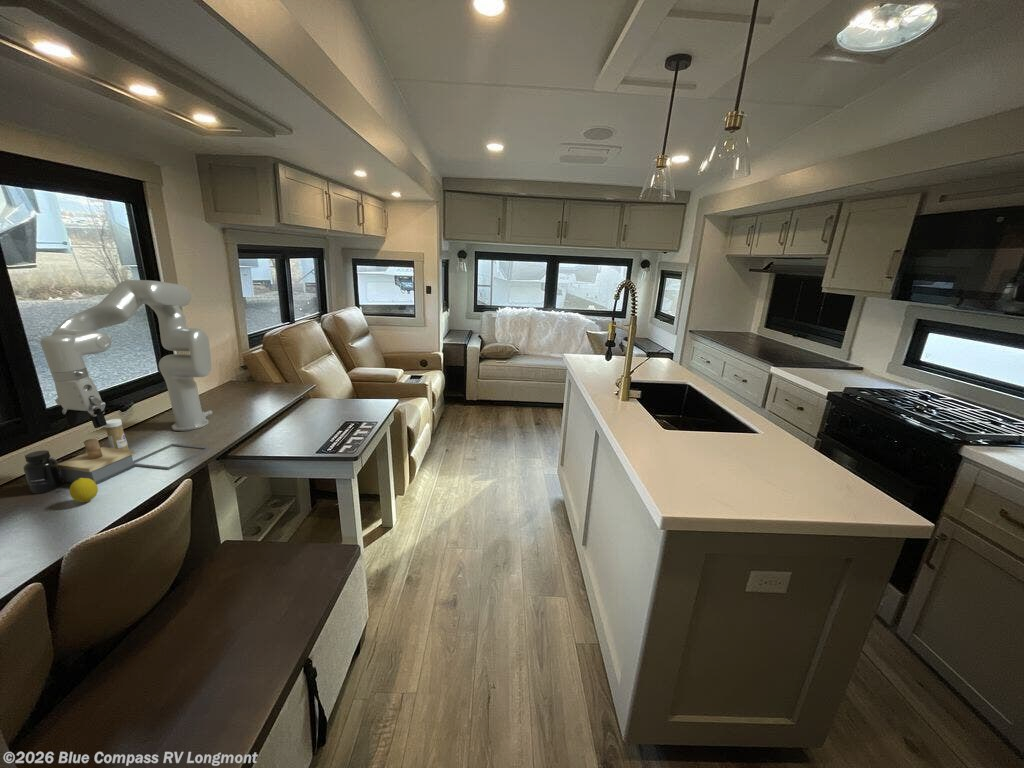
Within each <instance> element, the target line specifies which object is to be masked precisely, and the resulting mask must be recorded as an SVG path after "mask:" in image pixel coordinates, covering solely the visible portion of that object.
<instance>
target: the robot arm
mask: <svg viewBox="0 0 1024 768" xmlns="http://www.w3.org/2000/svg"><path fill="white" fill-rule="evenodd" d="M191 301H192V294H191V291H190V290H189V289H188V288H187V287H186V286H184V285H182V284H179V283H173V282H172V283H171V282H164V281H160V280H151V279H150V280H149V279H148V280H147V279H127V280H123V281H121V282H119V283H118V284H117V285H116V286H115V288H113V289H112V290H111V291H110V292H109V293H108V294H107V295H106V296H105V297H104V298H103V299H102V300H101V301H100V302H99V303H98V304H96V305H94V306H92V307H89V308H87V309H84V310H82V311H80V312H77V313H75V314H73V315H72V316H71V315H70V316H69V317H67V318H66V319H65V320H64V321H62V322H61V323H60V325H58V326H57V327H56V328H55V329H54V330H53V332H52V333H51V334H50V335H47V336H44V337H42V338H41V339H40V341H39V342H40V346H41V349H42V353H43V354H44V356H45V360H46V363H47V365H48V369H49V371H50V374H51V376H52V379H53V382H54V386H55V387H54V388H55V392H56V396H57V397H56V399H54V401H55V402H54V403H56V405H58V408H59V409H60V410H61V412H62V414H63V415H64V417H65V419H66V423H67V425H68V427H69V426H70V427H71V426H74V425H77V424H80V423H82V419H81V417H80V414H79V411H81V412H83V411H84V412H87V413H88V414H90V415H91V417H90V419H91V422H92V425H93V428H94V429H99V428H101V427H104V426H105V425H106V424H107V423H106V421H107V419H106V418H105V415H104V414H106V413H105V411H106V402H104V401H103V400H102V398H101V395H100V393H99V390H98V388H97V386H96V385H95V382H94V381H93V380H92V378H91V377H90V375H89V371H88V369H87V367H86V366H87V365H86V363H85V360H84V356H87V355H94V354H95V355H96V354H97V355H98V354H100V353H101V354H102V353H104V352H106V351H107V350H108V349H109V348H111V345H112V339H111V337H110V336H109V335H108V334H107V333H105V332H103V331H101V330H100V329H104V328H107V327H112V326H117V325H120V324H123V323H125V322H127V321H129V319H131V318H132V316H133V315H134V314H135V313H136V311H137V310H138V309H139V308H140V307H142V305H147V306H149V307H150V308H151V310H152V311H154V313H155V314H156V317H157V319H158V326H159V327H158V328H159V333H160V335H159V336H160V342H161V346H162V347H163V349H165V350H167V351H172V352H189V354H186V353H184V354H182V353H181V354H179V353H177V354H175V353H174V354H167V355H165V356H163V357H162V358H160V359H159V362H158V368H159V371H160V374H161V375H162V377H163V379H164V381H165V385H166V387H167V391H168V396H169V401H170V404H171V409H172V413H173V414H172V415H173V417H174V422H175V423H173V424H172V425H171V429H172V430H173V431H177V432H186V431H193V430H197V429H200V428H203V427H205V426H208V424H209V423H210V422H209V419H208V418H207V416H211V415H213V411H212V410H207V411H204V410H203V409H202V405H201V401H200V400H201V399H200V396H199V391H198V386H197V383H196V382H195V381H194V379H193V378H204V377H207V376H208V375H209V374H210V372H211V371H212V360H211V358H212V357H211V349H210V341H209V337H208V336H207V334H206V332H205V331H204V330H202V329H201V328H200V329H199V328H195V327H191V328H189V327H188V326H187V322H186V316H185V313H184V312H183V310H182V309H181V308H180V307H185V306H187V305H188V304H190V303H191ZM94 410H95V411H94Z"/></svg>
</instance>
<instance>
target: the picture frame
mask: <svg viewBox="0 0 1024 768" xmlns="http://www.w3.org/2000/svg"><path fill="white" fill-rule="evenodd" d="M171 447H179V448H186V449H187V448H188V449H200V451H198V452H196V453H194V454H192V455H190V456H188V457H187V458H184V459H183V460H180V461H178V462H176V463H173V464H172V465H170V466H164V465H163V466H162V465H155V464H154V465H153V464H151V465H150V464H145V463H138V462H140V461H143V460H145V459H147V458H148V457H151V456H154V455H156V454H158V453H160V452H163V451H165V450H167V449H169V448H171ZM209 450H212V446H201V445H190V444H182V443H180V444H179V443H171V444H169V445H165V446H164V447H162V448H160V449H156V450H155V451H152V452H150V453H149V454H148V453H147V454H146V455H144V456H141V457H139V458H137V459H135V460H134V459H133V462H134V466H135V468H137V467H139V468H145V469H146V468H148V469H157V470H166V471H169V470H172V469H174V468H176V467H178V466H180V465H181V464H183V463H186V462H188V461H190V460H192V459H193V458H195V457H197V456H199V455H201V454H203V453H205V452H208V451H209Z"/></svg>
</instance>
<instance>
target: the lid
mask: <svg viewBox="0 0 1024 768" xmlns="http://www.w3.org/2000/svg"><path fill="white" fill-rule="evenodd" d="M83 444H84V448H85V451H86V452H85V453H82V454H79V455H77V456H75V457H72V458H69V459H66V460H64V461H61V462H59V463H58V462H57V463H58V466H59V468H61V469H69V470H77V471H84V472H92V471H94V470H96V469H99V468H101V467H104V466H106V465H108V464H111V463H113V462H116V461H118V460H120V459H123V458H125V457H128V456H130V455H132V456H133V455H134V454H135V452H134V450H131V449H129V450H124V449H115V448H111V447H105V446H101V447H100V443H99V439H98V438H90V439H86V440H84V441H83Z"/></svg>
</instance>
